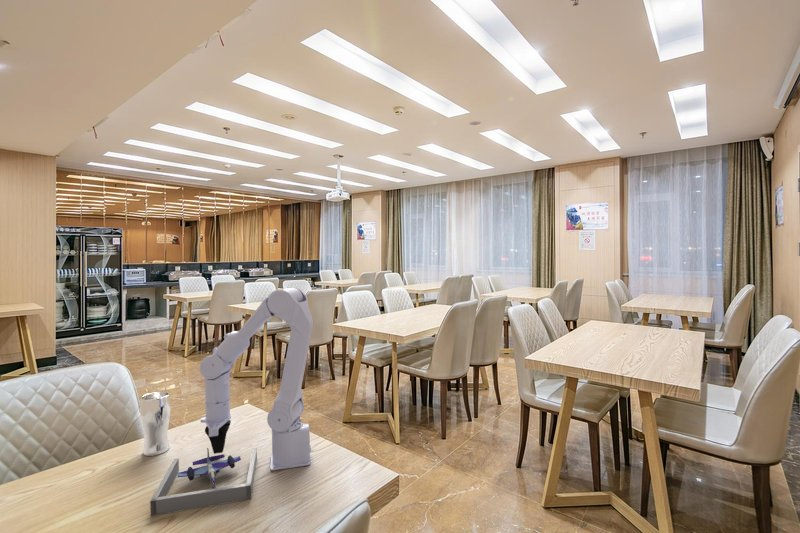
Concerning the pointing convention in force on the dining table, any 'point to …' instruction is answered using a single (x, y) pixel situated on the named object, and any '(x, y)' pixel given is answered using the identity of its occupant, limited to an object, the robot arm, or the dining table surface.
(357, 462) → the dining table surface
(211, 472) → the toy airplane
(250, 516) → the dining table surface
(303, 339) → the robot arm
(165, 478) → the airplane jig
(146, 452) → the silver metal cup
